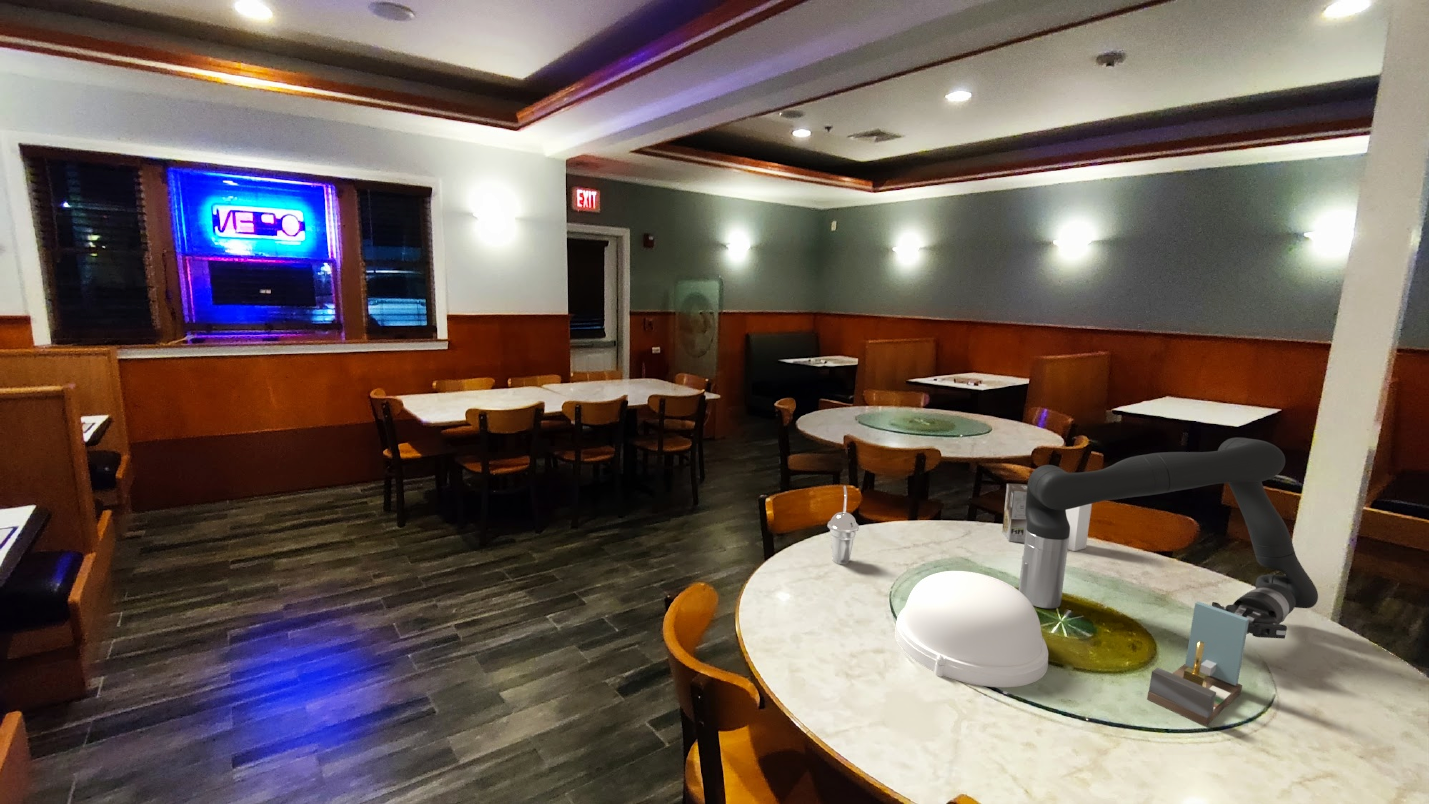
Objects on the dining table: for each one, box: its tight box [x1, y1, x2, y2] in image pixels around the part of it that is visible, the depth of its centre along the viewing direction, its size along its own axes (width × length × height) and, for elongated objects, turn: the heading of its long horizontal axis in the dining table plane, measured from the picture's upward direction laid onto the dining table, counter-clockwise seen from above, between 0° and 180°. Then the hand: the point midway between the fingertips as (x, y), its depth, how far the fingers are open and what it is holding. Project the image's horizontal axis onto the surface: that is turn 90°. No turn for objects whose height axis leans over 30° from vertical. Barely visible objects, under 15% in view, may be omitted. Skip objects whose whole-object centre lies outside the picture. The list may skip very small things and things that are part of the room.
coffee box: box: [1001, 483, 1028, 544], centre depth 198 cm, size 9×6×16 cm
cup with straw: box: [826, 485, 860, 565], centre depth 175 cm, size 8×9×20 cm
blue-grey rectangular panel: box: [1184, 601, 1249, 685], centre depth 121 cm, size 4×8×13 cm, turn 35°
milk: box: [1066, 503, 1093, 552], centre depth 191 cm, size 6×6×22 cm
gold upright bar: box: [1183, 641, 1208, 687], centre depth 118 cm, size 2×3×8 cm, turn 35°
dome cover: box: [894, 570, 1049, 688], centre depth 134 cm, size 32×30×14 cm
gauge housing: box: [1146, 663, 1243, 727], centre depth 119 cm, size 18×9×6 cm, turn 125°
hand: (1232, 631), depth 127 cm, fingers closed
